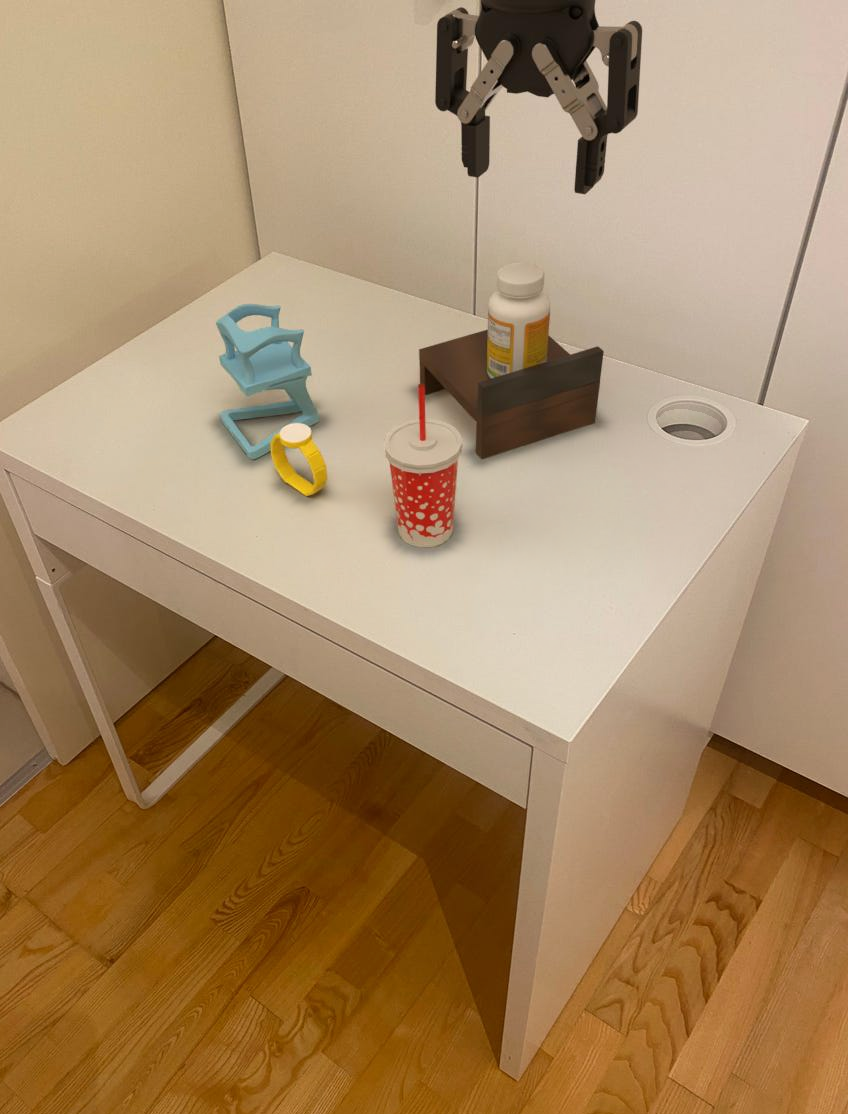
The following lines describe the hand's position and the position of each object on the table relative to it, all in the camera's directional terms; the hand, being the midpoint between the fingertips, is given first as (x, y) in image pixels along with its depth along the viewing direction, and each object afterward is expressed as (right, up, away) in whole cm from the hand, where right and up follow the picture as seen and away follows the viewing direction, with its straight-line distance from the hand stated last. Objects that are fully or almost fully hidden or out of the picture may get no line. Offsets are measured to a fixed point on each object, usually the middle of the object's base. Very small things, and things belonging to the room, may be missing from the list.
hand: (530, 181), depth 72 cm
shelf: (+1, -11, +23) cm, 26 cm away
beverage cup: (-7, -24, +11) cm, 28 cm away
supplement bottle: (+2, -9, +19) cm, 21 cm away
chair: (-21, -13, +23) cm, 34 cm away
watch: (-18, -20, +17) cm, 31 cm away
